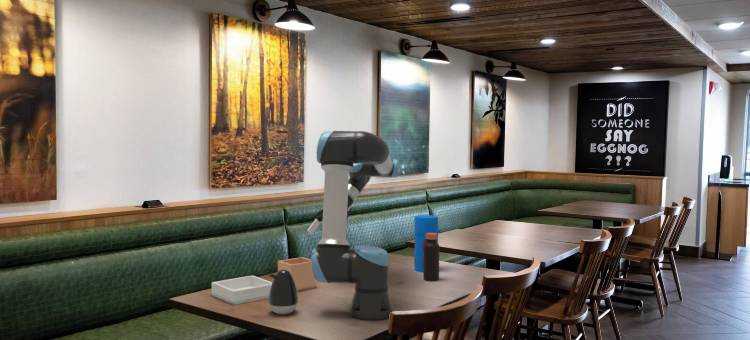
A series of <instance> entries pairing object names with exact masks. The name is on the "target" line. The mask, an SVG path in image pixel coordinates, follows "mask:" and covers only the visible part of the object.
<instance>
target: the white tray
mask: <svg viewBox="0 0 750 340" xmlns="http://www.w3.org/2000/svg"><path fill="white" fill-rule="evenodd" d="M272 282H273V281H269V280H266V279H264V278H261V277H258V276H256V275H246V276H242V277H235V278H230V279H229V278H228V279H223V280H219V281H218V280H217V281H211V295H212V297H215V298H218V299H219V300H222V301H224V302H226V303H228V304H230V305H233V306H236V305H242V304H247V303H250V302H251V303H252V302H256V301H260V300H261V301H262V300H266V299H269V294H270V288H271V285H272Z"/></svg>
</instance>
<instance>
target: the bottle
mask: <svg viewBox="0 0 750 340" xmlns="http://www.w3.org/2000/svg"><path fill="white" fill-rule="evenodd" d="M426 240H427V242H426V243H425V244H424V267H423V272H422V273H423V274H422V275H423V276H422V277H423V280H424V281H428V282H437V281H439V280H440V244H439V242H438V243H437V242H436V240H437V233H426Z"/></svg>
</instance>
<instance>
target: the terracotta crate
mask: <svg viewBox="0 0 750 340" xmlns="http://www.w3.org/2000/svg"><path fill="white" fill-rule="evenodd" d="M283 269H284V270H288V271H289V272H290V273H291V275H292V277H293V279H294V282H295V285H296V288H297V292H301V291H306V290H312V289H316V288H317V280H316V279H315V277H314V275H313V271H312V264H311V259H310V258H306V257H303V256H302V257H301V256H300V257H295V258H289V259H283V260H281V259H280V260H277V272H278V271H280V270H283Z"/></svg>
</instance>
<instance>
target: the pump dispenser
mask: <svg viewBox="0 0 750 340" xmlns="http://www.w3.org/2000/svg"><path fill="white" fill-rule="evenodd" d="M269 277H270V278H273V279H272V281H271V282H272V285H271V288H270V294H269V298H268V305H269V307H270V309H271V310H272V312H274V313H276V315H289V314H291V313H293V312H294V311H295V310H296V308H297V305H298V303H299V294H298V291H297V288H296V285H295V282H294V279H293V277H292V275H291V273H290V272H289V271H288V270H284V269H283V270H280V271H278V270H277V272H276V274H274V273H269Z"/></svg>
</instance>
